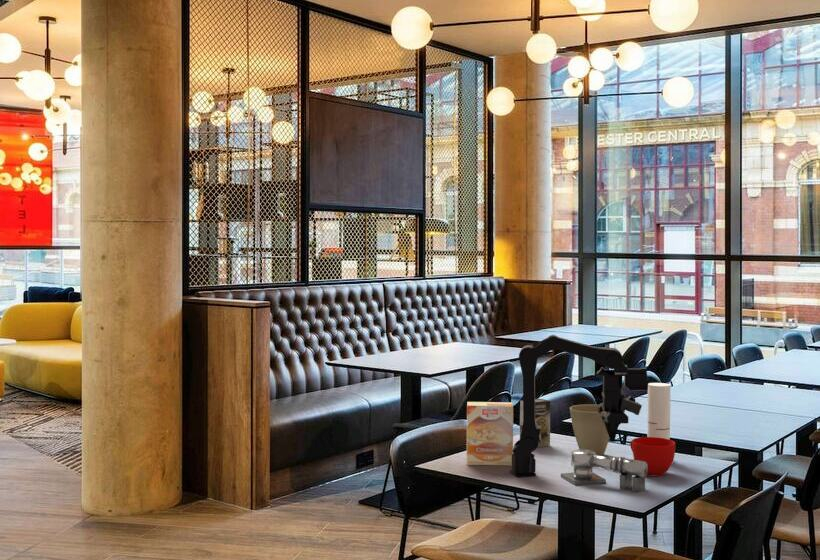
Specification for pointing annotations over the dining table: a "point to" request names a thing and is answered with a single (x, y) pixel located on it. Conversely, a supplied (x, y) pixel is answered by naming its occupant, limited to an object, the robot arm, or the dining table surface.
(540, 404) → the coffee box
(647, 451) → the red bowl
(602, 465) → the elbow
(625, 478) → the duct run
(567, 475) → the flange plate
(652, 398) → the cylindrical container
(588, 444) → the plant pot
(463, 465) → the dining table surface
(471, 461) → the coffeecake box
